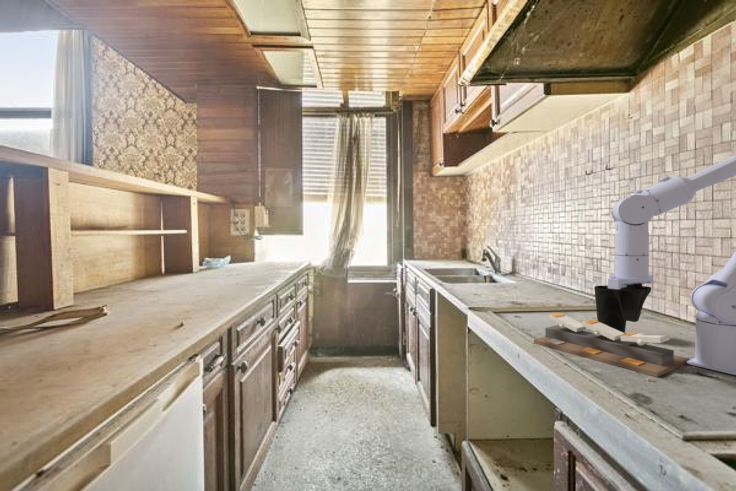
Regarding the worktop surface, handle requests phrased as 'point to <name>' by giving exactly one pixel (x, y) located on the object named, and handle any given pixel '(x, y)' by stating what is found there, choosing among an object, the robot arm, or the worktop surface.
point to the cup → (609, 308)
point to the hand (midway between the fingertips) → (631, 320)
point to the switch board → (615, 358)
